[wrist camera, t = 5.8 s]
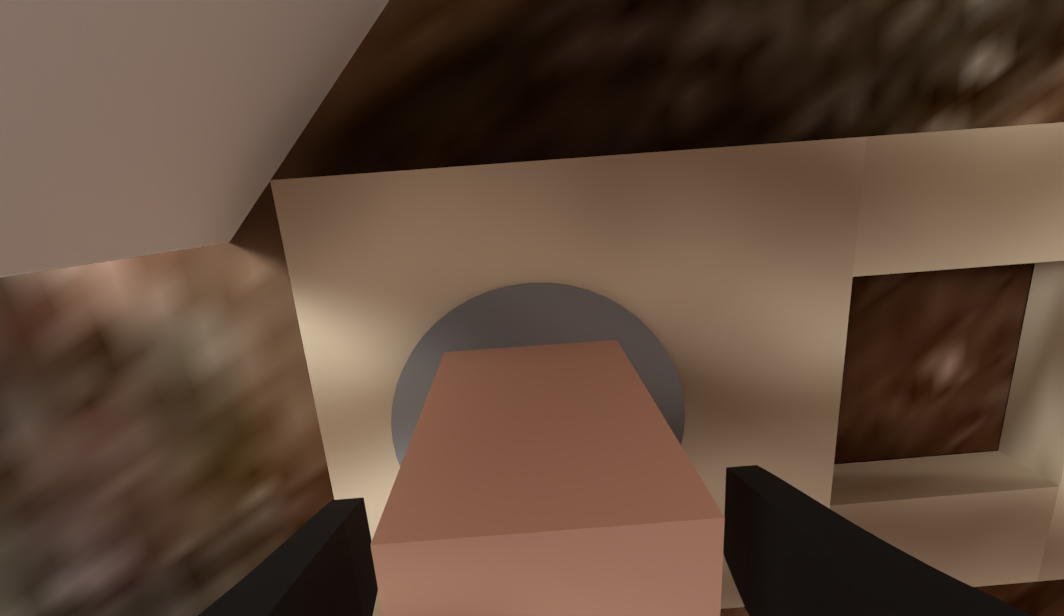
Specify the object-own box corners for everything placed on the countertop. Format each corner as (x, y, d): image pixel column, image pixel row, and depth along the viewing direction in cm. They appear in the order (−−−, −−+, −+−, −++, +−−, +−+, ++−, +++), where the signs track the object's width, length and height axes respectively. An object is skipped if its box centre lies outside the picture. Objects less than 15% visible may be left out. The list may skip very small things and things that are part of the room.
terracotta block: (619, 489, 14) (713, 772, 8) (461, 501, 14) (414, 797, 8) (617, 339, 13) (724, 517, 6) (444, 351, 13) (370, 544, 6)
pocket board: (1049, 531, 18) (1124, 582, 16) (379, 588, 18) (359, 648, 16) (1148, 117, 14) (1264, 107, 12) (303, 178, 14) (264, 180, 12)
